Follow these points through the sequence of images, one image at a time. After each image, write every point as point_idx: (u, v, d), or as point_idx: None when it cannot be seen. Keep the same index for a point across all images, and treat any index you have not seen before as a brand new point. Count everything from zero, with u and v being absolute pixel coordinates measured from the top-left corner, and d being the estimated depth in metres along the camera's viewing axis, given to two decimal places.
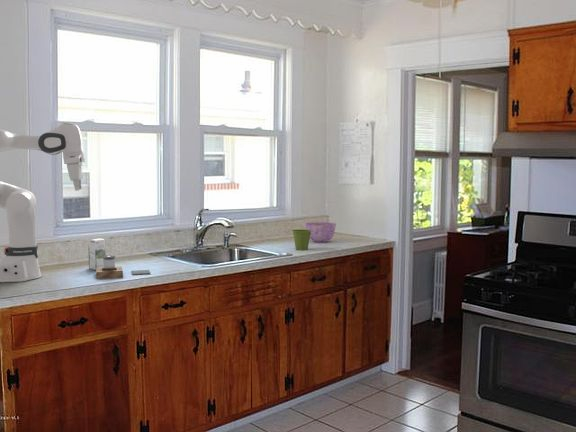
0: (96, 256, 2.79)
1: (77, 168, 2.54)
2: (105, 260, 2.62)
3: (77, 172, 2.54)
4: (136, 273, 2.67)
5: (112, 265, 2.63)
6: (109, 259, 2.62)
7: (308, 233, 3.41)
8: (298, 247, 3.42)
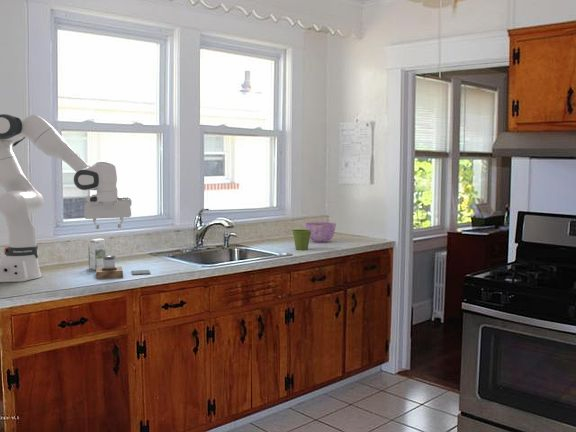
0: (96, 256, 2.79)
1: (85, 207, 2.58)
2: (105, 260, 2.62)
3: (84, 211, 2.58)
4: (136, 273, 2.67)
5: (112, 265, 2.63)
6: (109, 259, 2.62)
7: (308, 233, 3.41)
8: (298, 247, 3.42)
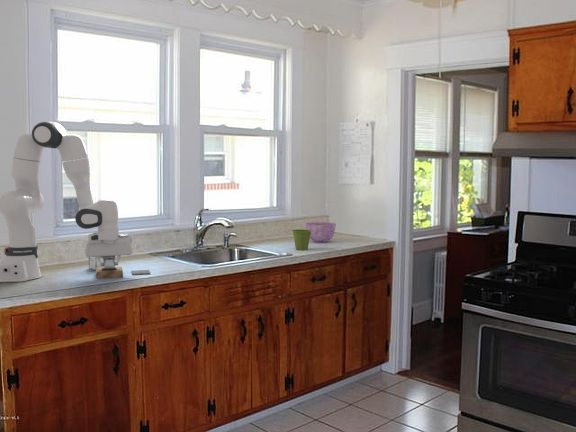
0: None
1: (86, 245, 2.59)
2: (105, 260, 2.62)
3: (85, 249, 2.59)
4: (136, 273, 2.67)
5: (112, 265, 2.63)
6: (109, 259, 2.62)
7: (308, 233, 3.41)
8: (298, 247, 3.42)
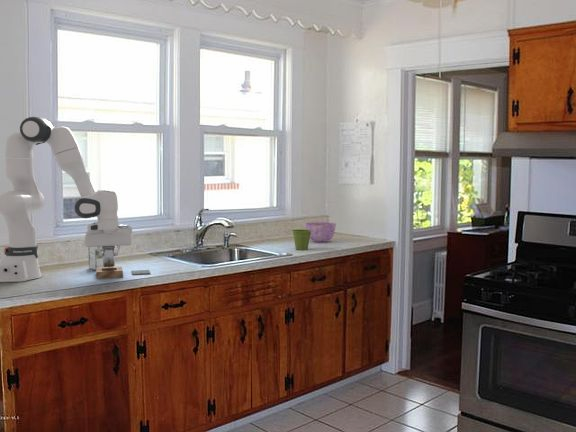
0: (96, 256, 2.79)
1: (85, 235, 2.58)
2: (105, 250, 2.61)
3: (85, 239, 2.58)
4: (136, 273, 2.67)
5: (112, 255, 2.62)
6: (109, 249, 2.61)
7: (308, 233, 3.41)
8: (298, 247, 3.42)
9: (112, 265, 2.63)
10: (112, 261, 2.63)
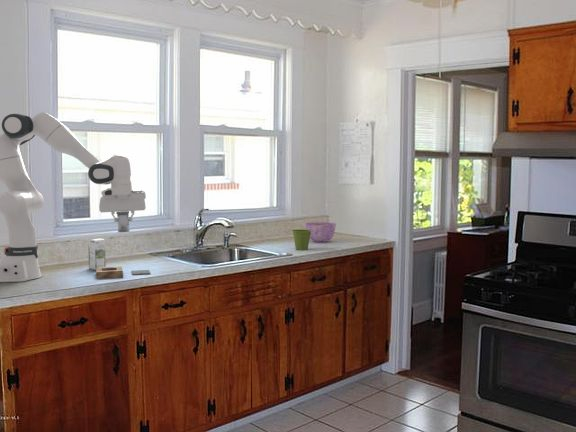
0: (96, 256, 2.79)
1: (100, 201, 2.60)
2: (119, 215, 2.63)
3: (99, 205, 2.61)
4: (136, 273, 2.67)
5: (126, 220, 2.64)
6: (123, 214, 2.63)
7: (308, 233, 3.41)
8: (298, 247, 3.42)
9: (127, 230, 2.65)
10: (127, 226, 2.65)
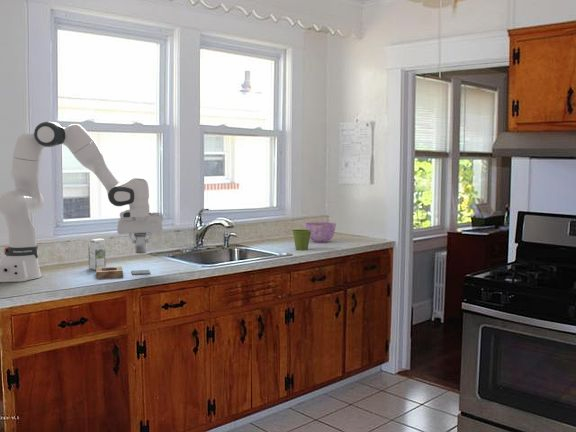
0: (96, 256, 2.79)
1: (118, 223, 2.65)
2: (137, 237, 2.68)
3: (117, 226, 2.65)
4: (136, 273, 2.67)
5: (143, 242, 2.69)
6: (140, 236, 2.68)
7: (308, 233, 3.41)
8: (298, 247, 3.42)
9: (144, 251, 2.69)
10: (144, 248, 2.69)
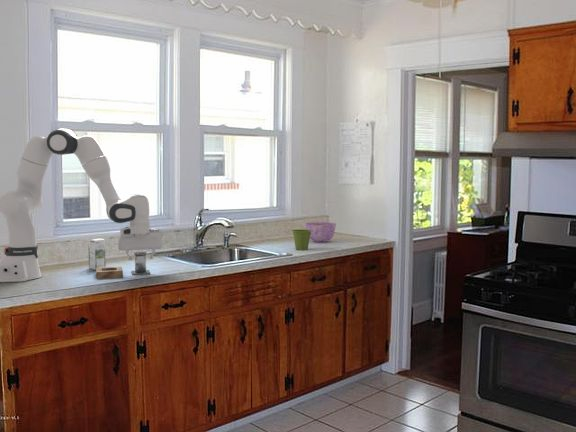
0: (96, 256, 2.79)
1: (118, 239, 2.65)
2: (137, 256, 2.68)
3: (118, 243, 2.66)
4: (136, 273, 2.67)
5: (143, 261, 2.69)
6: (141, 255, 2.68)
7: (308, 233, 3.41)
8: (298, 247, 3.42)
9: (144, 271, 2.70)
10: (144, 267, 2.70)
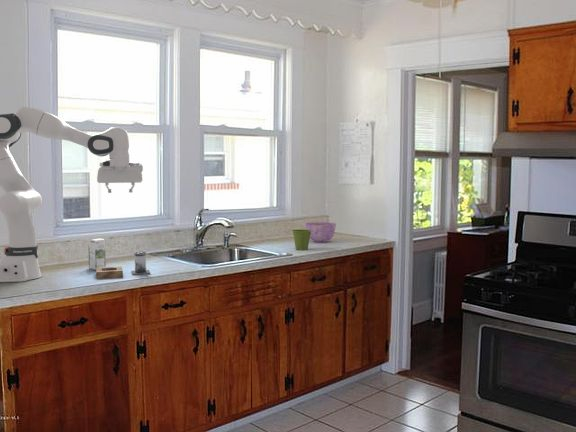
0: (96, 256, 2.79)
1: (98, 171, 2.67)
2: (137, 256, 2.68)
3: (97, 175, 2.67)
4: (136, 273, 2.67)
5: (143, 261, 2.69)
6: (141, 255, 2.68)
7: (308, 233, 3.41)
8: (298, 247, 3.42)
9: (144, 271, 2.70)
10: (144, 267, 2.70)
